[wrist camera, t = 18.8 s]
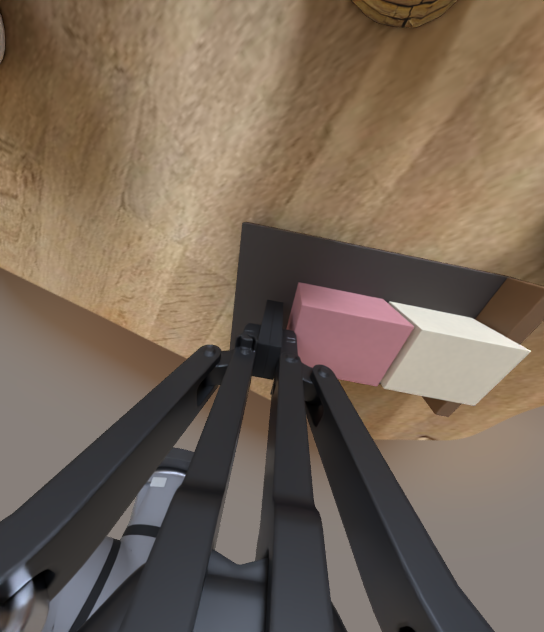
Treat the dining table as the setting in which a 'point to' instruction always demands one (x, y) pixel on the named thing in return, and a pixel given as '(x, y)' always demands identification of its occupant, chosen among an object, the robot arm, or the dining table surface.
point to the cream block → (450, 357)
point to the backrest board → (376, 284)
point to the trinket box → (2, 39)
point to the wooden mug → (403, 11)
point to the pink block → (347, 332)
